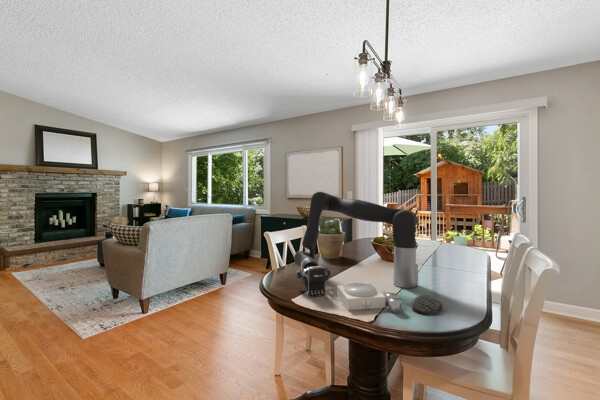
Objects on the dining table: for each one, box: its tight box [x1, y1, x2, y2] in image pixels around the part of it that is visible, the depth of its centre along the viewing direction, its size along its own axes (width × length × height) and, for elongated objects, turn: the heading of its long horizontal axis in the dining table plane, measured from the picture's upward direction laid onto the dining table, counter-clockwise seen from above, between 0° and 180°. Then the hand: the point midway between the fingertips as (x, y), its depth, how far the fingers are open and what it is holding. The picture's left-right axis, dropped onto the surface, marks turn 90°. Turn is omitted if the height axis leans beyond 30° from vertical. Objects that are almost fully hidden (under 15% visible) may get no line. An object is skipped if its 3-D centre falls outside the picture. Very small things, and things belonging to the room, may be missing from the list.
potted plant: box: [317, 216, 346, 260], centre depth 178 cm, size 18×19×25 cm
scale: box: [336, 282, 386, 311], centre depth 107 cm, size 14×14×5 cm
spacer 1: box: [384, 292, 398, 308], centre depth 103 cm, size 4×4×4 cm
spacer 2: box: [388, 297, 402, 315], centre depth 98 cm, size 4×4×4 cm
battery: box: [307, 265, 327, 297], centre depth 113 cm, size 7×4×11 cm, turn 102°
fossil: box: [411, 294, 443, 317], centre depth 101 cm, size 10×13×4 cm
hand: (316, 277), depth 115 cm, fingers open, 8 cm apart
